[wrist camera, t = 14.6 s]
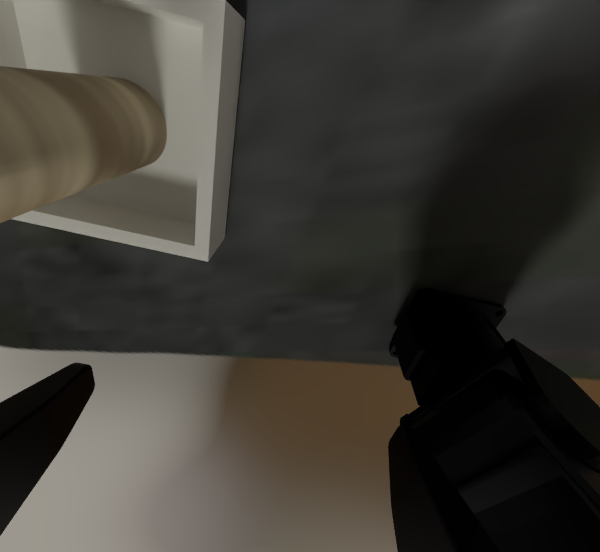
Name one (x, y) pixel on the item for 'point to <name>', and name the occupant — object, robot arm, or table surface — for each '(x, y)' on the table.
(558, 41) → the table surface
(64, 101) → the birch dowel
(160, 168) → the tray
